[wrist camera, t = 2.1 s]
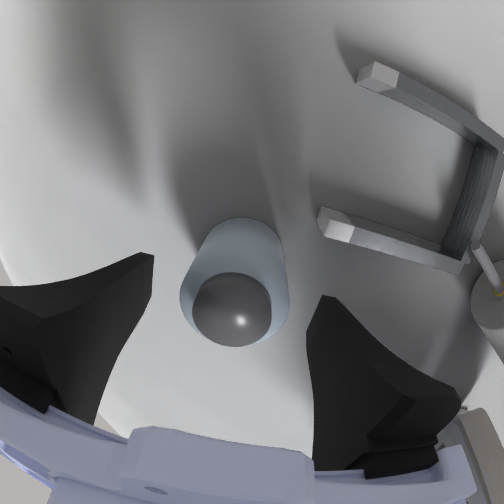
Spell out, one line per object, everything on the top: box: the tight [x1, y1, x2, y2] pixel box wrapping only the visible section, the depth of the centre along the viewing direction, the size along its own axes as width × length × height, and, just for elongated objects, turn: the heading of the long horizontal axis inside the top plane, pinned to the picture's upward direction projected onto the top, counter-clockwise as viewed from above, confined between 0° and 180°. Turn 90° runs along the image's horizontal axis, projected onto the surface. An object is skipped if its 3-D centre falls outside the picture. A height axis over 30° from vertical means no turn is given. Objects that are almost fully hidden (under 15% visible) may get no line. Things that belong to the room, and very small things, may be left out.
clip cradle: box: [316, 61, 504, 275], centre depth 12 cm, size 8×9×2 cm
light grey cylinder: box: [180, 218, 289, 347], centre depth 13 cm, size 4×4×5 cm
